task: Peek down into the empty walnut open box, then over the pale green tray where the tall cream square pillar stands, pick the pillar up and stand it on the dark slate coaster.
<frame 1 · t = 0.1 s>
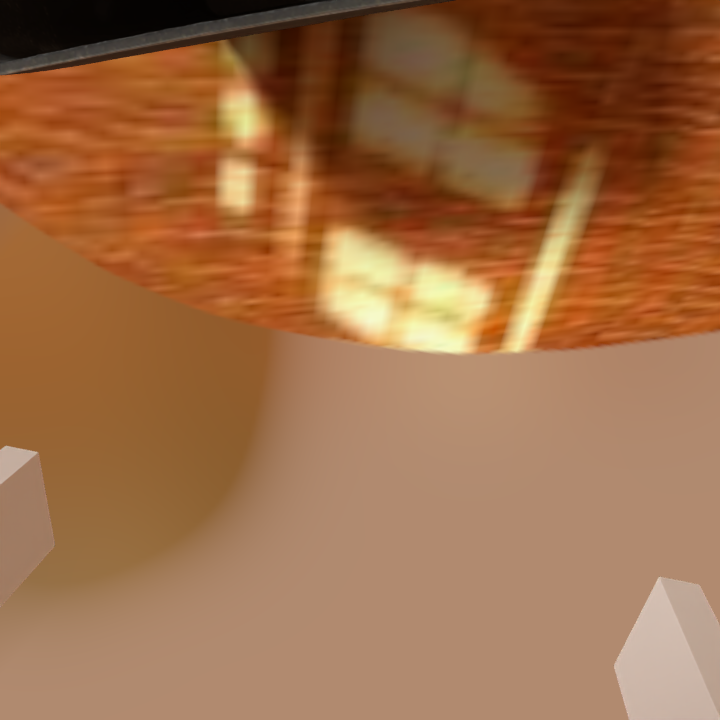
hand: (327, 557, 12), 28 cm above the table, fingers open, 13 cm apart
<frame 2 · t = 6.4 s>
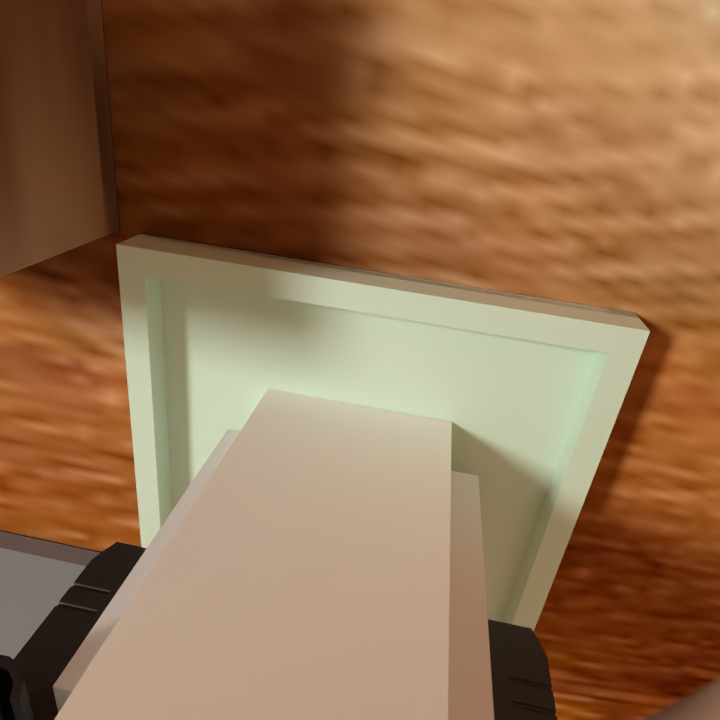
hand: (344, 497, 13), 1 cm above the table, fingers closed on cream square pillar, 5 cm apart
slate coaster: (45, 621, 19), on the table
green tray: (350, 471, 14), on the table
cream square pillar: (348, 478, 14), resting on green tray, touching gripper
when the fingers open (2 cm above the table, at t = 11.6 s): cream square pillar stays where it is, resting on slate coaster.
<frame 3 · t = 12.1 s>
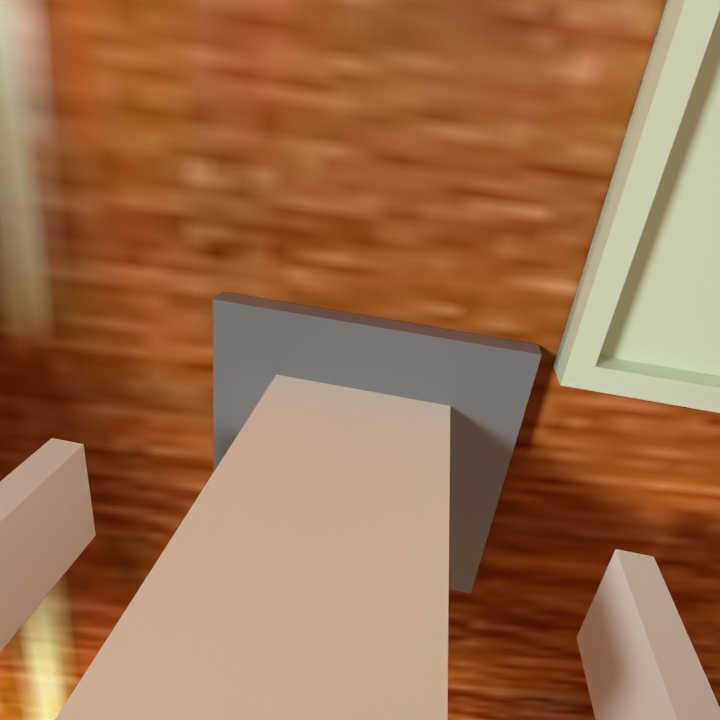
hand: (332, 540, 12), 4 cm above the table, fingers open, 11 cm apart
slate coaster: (357, 448, 15), on the table
cream square pillar: (352, 461, 15), point 1 cm above the table, touching slate coaster
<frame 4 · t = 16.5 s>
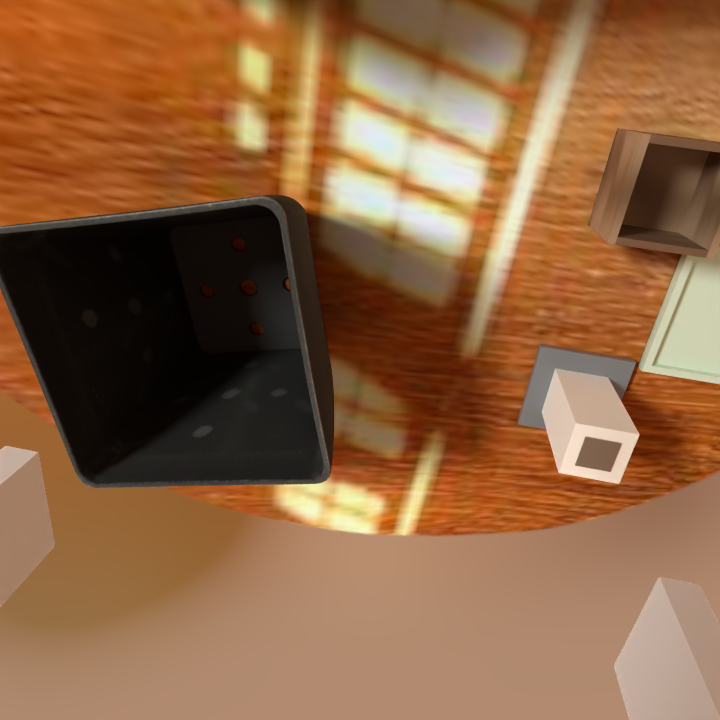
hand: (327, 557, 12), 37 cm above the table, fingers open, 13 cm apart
walnut open box: (650, 185, 41), on the table
slate coaster: (573, 391, 49), on the table
flower pot: (252, 284, 49), on the table
cream square pillar: (573, 395, 48), point 1 cm above the table, touching slate coaster
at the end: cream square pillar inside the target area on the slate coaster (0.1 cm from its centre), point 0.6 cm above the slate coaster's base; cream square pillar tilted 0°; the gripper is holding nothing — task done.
